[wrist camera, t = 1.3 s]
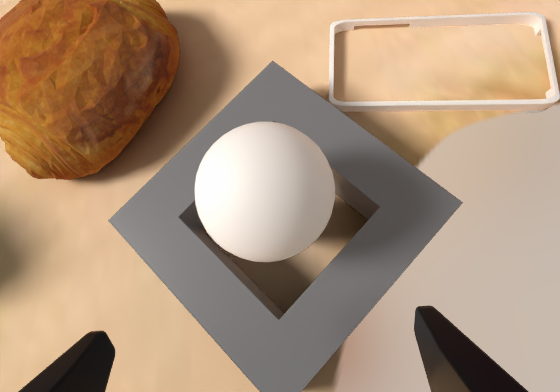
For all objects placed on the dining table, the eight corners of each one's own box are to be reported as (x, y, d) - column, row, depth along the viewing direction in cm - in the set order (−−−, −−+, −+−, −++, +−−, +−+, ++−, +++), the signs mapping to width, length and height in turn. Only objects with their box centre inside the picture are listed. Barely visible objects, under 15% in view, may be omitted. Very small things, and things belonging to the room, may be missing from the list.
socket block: (437, 218, 22) (462, 202, 18) (288, 391, 20) (280, 415, 16) (279, 95, 25) (272, 60, 21) (142, 232, 23) (108, 220, 20)
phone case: (328, 115, 25) (548, 113, 23) (329, 105, 24) (562, 103, 22) (329, 32, 27) (533, 25, 25) (330, 19, 26) (544, 10, 24)
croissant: (225, 77, 29) (205, -10, 22) (91, 219, 24) (7, 171, 17) (107, 9, 32) (54, -88, 25) (-32, 122, 27) (-149, 46, 20)
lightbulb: (225, 253, 22) (142, 220, 12) (257, 171, 24) (209, 76, 13) (312, 286, 21) (305, 280, 11) (341, 197, 23) (360, 115, 12)
